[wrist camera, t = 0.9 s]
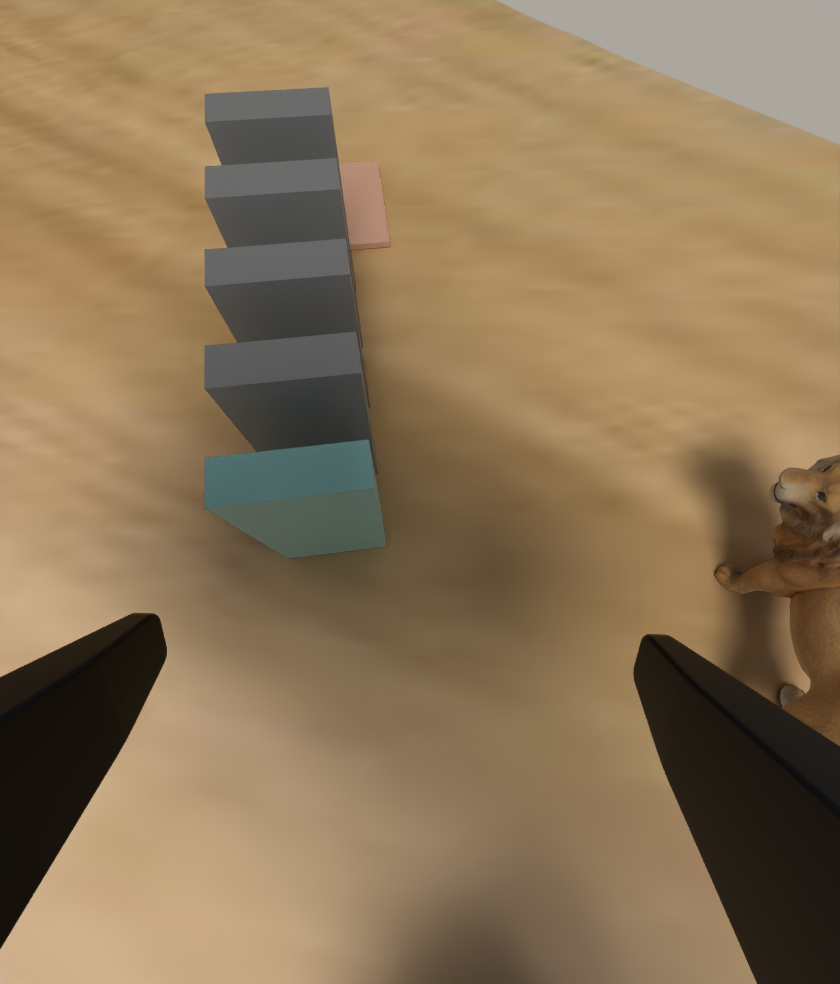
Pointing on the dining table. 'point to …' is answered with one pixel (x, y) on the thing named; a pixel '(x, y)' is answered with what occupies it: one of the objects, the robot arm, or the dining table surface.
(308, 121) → the domino
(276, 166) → the domino
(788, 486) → the lion figurine
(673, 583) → the dining table surface
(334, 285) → the domino
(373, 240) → the strip
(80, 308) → the dining table surface
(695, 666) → the robot arm
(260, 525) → the domino
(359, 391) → the domino
